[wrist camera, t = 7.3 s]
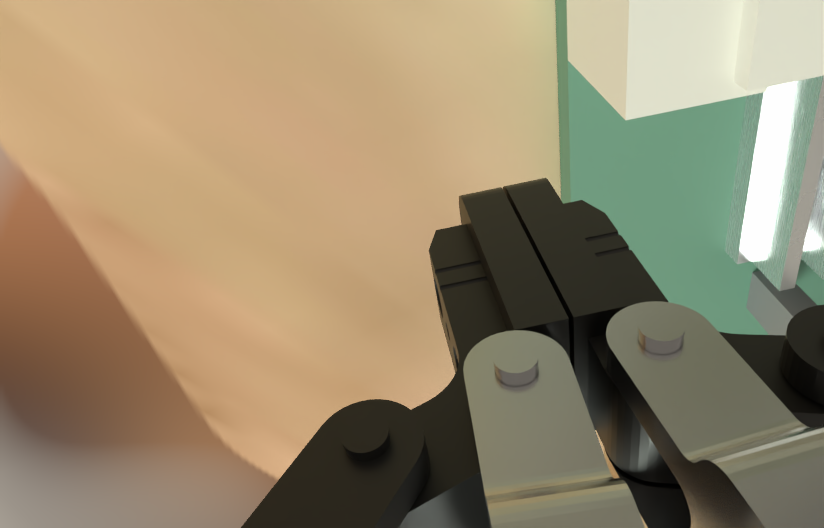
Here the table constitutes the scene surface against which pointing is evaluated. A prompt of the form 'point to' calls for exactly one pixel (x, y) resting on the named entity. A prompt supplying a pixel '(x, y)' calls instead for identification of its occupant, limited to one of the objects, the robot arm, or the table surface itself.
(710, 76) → the latch
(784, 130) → the white slotted block
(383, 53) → the table surface
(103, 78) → the table surface
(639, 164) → the board
